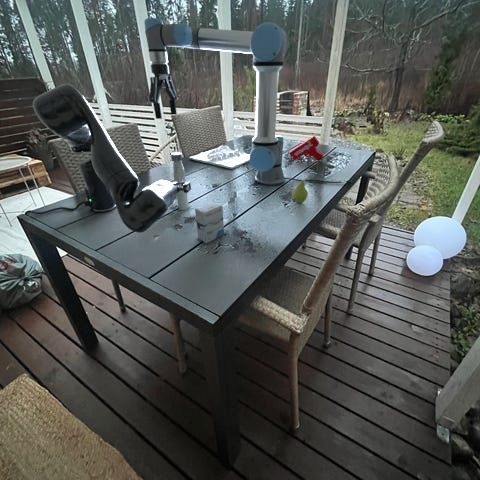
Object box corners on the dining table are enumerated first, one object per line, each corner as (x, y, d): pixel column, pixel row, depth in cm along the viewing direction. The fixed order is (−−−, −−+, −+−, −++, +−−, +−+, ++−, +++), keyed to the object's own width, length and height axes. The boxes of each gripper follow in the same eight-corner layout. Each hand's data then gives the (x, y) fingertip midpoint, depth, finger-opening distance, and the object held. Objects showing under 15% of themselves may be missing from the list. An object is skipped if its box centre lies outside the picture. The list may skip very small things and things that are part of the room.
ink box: (215, 229, 101) (213, 200, 95) (224, 234, 98) (223, 205, 92) (197, 238, 96) (194, 208, 90) (206, 243, 93) (203, 213, 87)
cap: (176, 157, 108) (176, 151, 107) (184, 158, 107) (184, 153, 105) (169, 160, 105) (168, 154, 104) (177, 161, 103) (176, 155, 102)
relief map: (231, 168, 161) (231, 160, 158) (189, 159, 179) (189, 151, 176) (257, 158, 179) (257, 150, 176) (217, 150, 197) (216, 142, 194)
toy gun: (327, 155, 171) (314, 135, 167) (326, 157, 167) (314, 136, 164) (302, 170, 181) (290, 151, 177) (301, 172, 177) (288, 153, 174)
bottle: (183, 204, 120) (176, 152, 108) (190, 207, 118) (184, 154, 106) (176, 208, 117) (168, 155, 104) (183, 211, 115) (176, 156, 102)
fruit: (288, 200, 123) (290, 174, 116) (302, 197, 125) (305, 172, 119) (296, 206, 118) (299, 179, 111) (310, 203, 120) (314, 177, 114)
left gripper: (183, 179, 76) (190, 171, 91) (133, 184, 76) (148, 176, 91) (187, 205, 79) (194, 193, 94) (139, 210, 79) (153, 198, 94)
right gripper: (166, 64, 130) (173, 112, 141) (134, 63, 110) (144, 120, 121) (180, 63, 128) (185, 113, 139) (150, 63, 108) (159, 121, 119)
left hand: (171, 185), depth 93 cm, fingers open, 8 cm apart
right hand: (166, 116), depth 130 cm, fingers open, 13 cm apart
